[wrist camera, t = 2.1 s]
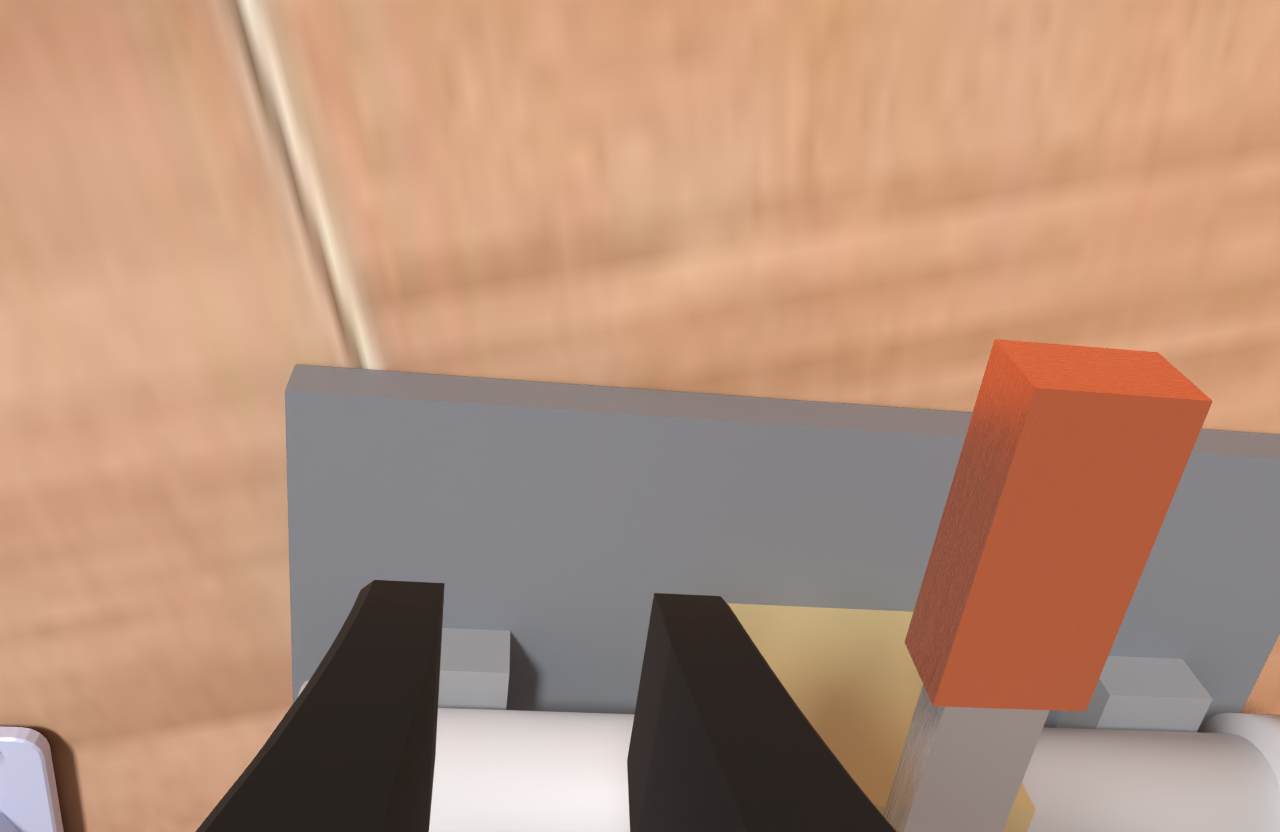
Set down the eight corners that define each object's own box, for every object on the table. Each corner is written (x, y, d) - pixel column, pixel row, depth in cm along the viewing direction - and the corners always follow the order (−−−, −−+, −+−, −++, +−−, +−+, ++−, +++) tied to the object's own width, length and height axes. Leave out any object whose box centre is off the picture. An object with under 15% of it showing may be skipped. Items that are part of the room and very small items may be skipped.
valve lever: (917, 1009, 19) (940, 1081, 18) (789, 1010, 19) (804, 1083, 18) (1166, 353, 13) (1221, 401, 12) (986, 338, 13) (1026, 387, 12)
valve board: (305, 842, 26) (238, 1161, 20) (295, 364, 20) (196, 608, 14) (1133, 856, 28) (1294, 1139, 22) (1331, 438, 23) (1617, 668, 17)
